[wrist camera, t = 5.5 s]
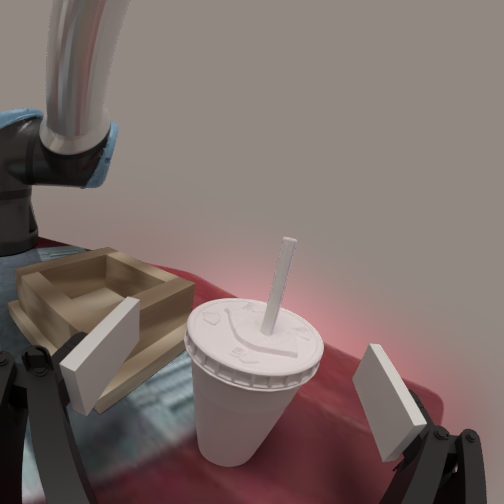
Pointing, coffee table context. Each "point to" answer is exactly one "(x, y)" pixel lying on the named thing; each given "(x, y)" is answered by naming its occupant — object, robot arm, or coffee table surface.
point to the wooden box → (104, 309)
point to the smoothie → (247, 367)
